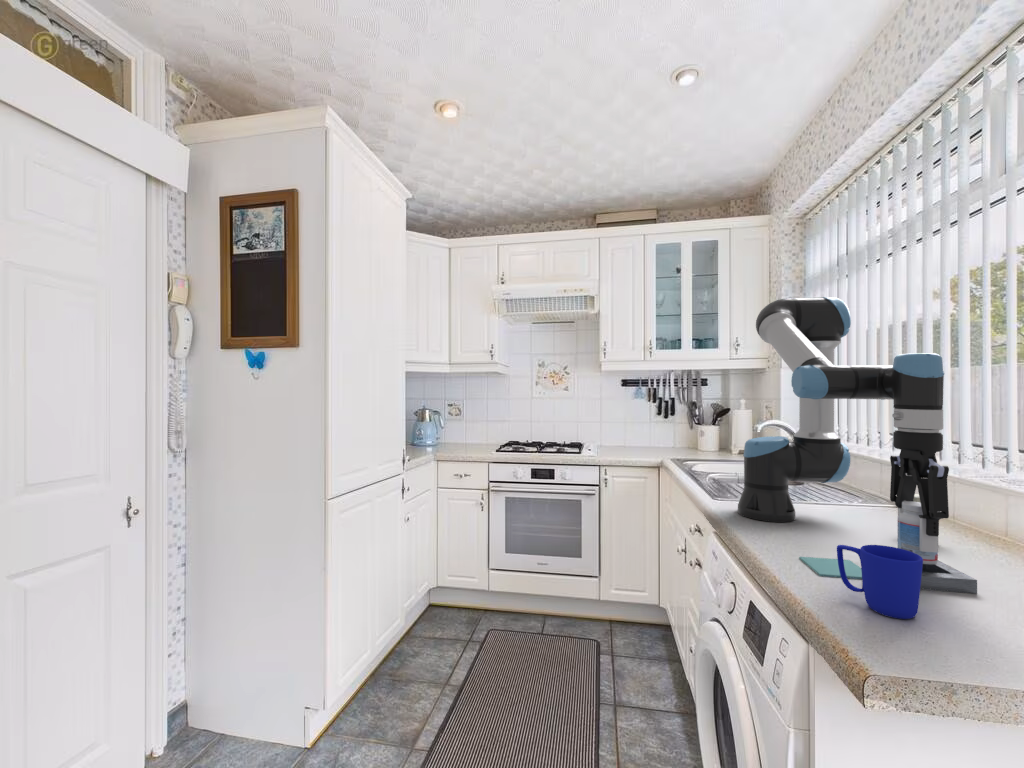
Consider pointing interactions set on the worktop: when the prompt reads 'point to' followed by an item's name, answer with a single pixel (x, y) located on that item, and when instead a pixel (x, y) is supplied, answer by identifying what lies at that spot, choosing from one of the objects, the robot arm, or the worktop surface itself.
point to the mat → (832, 567)
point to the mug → (887, 579)
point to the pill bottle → (912, 531)
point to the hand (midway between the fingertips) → (917, 545)
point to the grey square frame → (946, 579)
